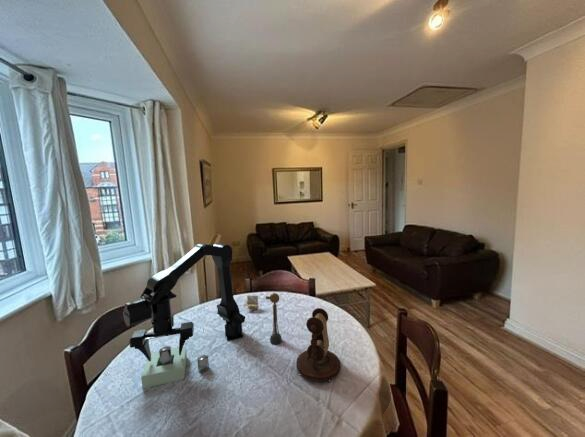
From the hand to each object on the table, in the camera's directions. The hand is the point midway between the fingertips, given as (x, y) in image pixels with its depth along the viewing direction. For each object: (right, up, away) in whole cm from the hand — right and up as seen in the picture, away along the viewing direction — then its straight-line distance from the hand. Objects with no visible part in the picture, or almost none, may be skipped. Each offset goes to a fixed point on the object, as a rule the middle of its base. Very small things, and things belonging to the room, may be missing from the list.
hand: (165, 357), depth 89 cm
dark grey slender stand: (+36, -2, +17) cm, 40 cm away
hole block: (0, -5, +1) cm, 5 cm away
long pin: (0, -5, +1) cm, 5 cm away
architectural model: (+23, 0, +45) cm, 51 cm away
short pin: (+12, -5, +1) cm, 13 cm away
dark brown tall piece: (+52, -4, 0) cm, 52 cm away
